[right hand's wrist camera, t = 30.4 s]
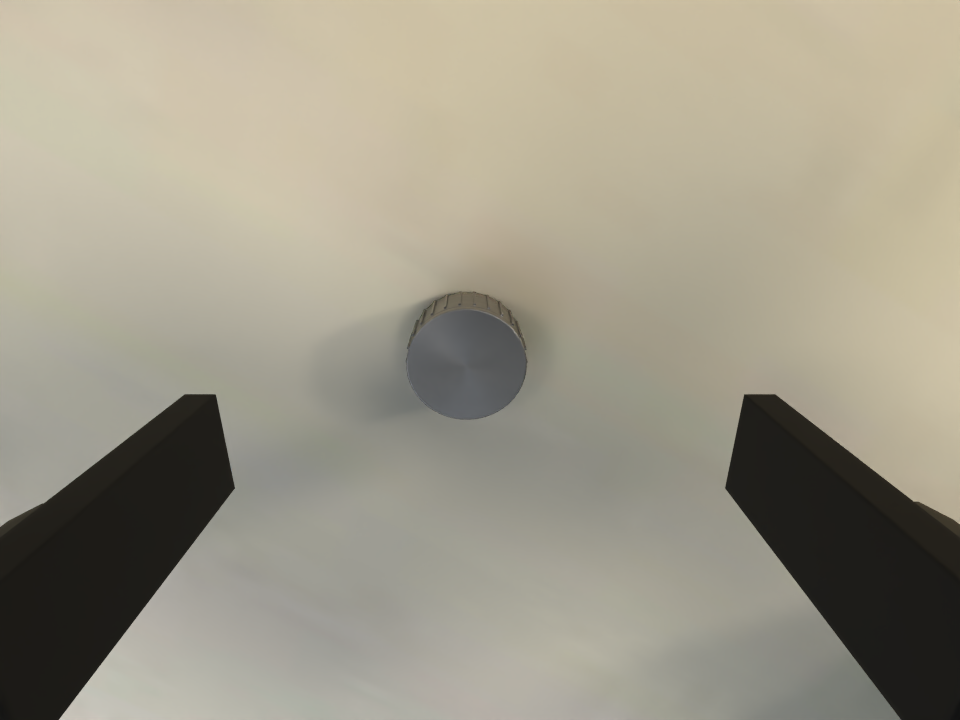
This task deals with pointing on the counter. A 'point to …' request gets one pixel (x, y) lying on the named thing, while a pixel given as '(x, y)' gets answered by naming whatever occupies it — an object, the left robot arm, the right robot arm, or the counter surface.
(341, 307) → the counter surface
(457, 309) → the cap
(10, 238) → the counter surface
